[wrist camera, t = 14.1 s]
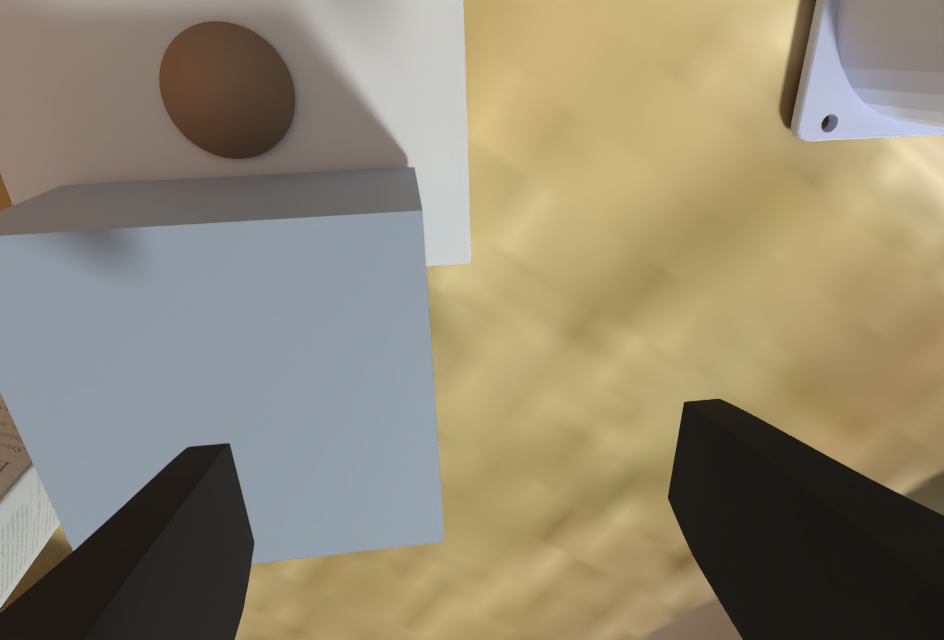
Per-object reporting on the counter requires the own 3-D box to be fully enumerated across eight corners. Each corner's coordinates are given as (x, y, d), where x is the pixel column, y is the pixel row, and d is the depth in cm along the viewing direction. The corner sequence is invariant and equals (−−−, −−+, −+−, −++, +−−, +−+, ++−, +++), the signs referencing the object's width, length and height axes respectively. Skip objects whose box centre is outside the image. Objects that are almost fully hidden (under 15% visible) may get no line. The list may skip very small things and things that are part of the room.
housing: (414, 167, 15) (422, 210, 11) (433, 436, 19) (444, 541, 15) (61, 185, 15) (-70, 239, 10) (156, 464, 18) (88, 583, 14)
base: (454, -144, 14) (459, -159, 13) (467, 252, 18) (471, 265, 17) (-90, -145, 13) (-134, -162, 11) (64, 279, 17) (42, 295, 16)
